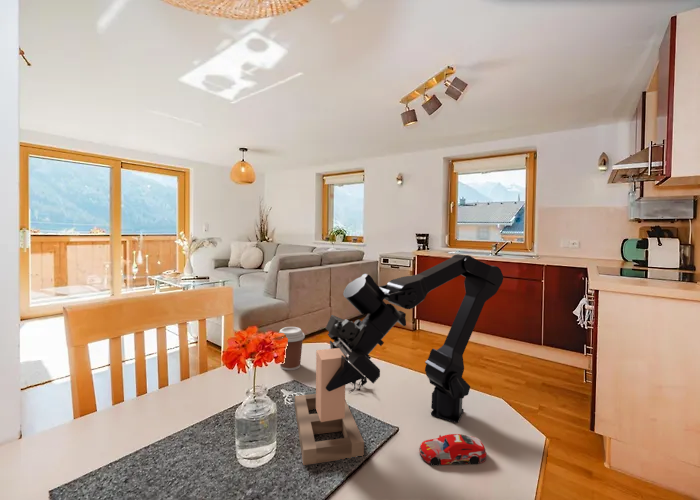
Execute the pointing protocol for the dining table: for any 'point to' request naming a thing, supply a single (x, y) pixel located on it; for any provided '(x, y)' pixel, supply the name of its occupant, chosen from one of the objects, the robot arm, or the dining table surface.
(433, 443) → the race car
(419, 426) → the dining table surface
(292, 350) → the coffee cup
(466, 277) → the robot arm
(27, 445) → the dining table surface
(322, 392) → the block
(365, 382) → the creature
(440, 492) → the dining table surface
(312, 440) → the puzzle board
